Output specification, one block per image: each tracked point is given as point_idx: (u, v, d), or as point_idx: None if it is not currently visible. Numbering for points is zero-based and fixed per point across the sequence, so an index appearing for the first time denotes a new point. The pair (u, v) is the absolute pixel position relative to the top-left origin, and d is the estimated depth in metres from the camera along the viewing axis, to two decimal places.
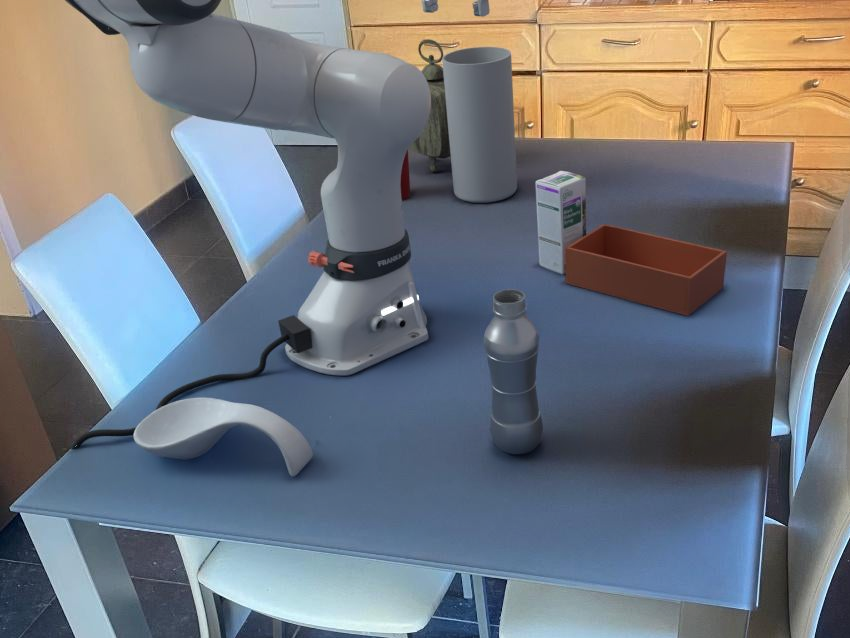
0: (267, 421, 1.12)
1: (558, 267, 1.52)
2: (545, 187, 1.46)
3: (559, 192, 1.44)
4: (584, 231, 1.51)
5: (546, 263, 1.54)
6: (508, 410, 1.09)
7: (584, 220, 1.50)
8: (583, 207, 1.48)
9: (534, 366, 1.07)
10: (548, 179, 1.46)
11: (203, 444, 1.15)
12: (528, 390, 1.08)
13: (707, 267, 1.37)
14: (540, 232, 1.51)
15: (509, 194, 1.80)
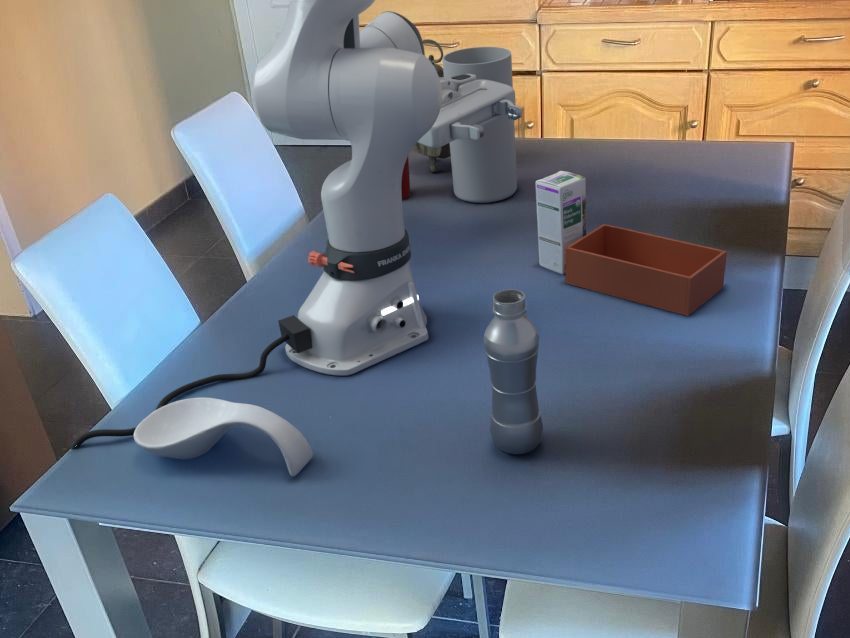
0: (267, 421, 1.12)
1: (558, 267, 1.52)
2: (545, 187, 1.46)
3: (559, 192, 1.44)
4: (584, 231, 1.51)
5: (546, 263, 1.54)
6: (508, 410, 1.09)
7: (584, 220, 1.50)
8: (583, 207, 1.48)
9: (534, 366, 1.07)
10: (548, 179, 1.46)
11: (203, 444, 1.15)
12: (528, 390, 1.08)
13: (707, 267, 1.37)
14: (540, 232, 1.51)
15: (509, 194, 1.80)
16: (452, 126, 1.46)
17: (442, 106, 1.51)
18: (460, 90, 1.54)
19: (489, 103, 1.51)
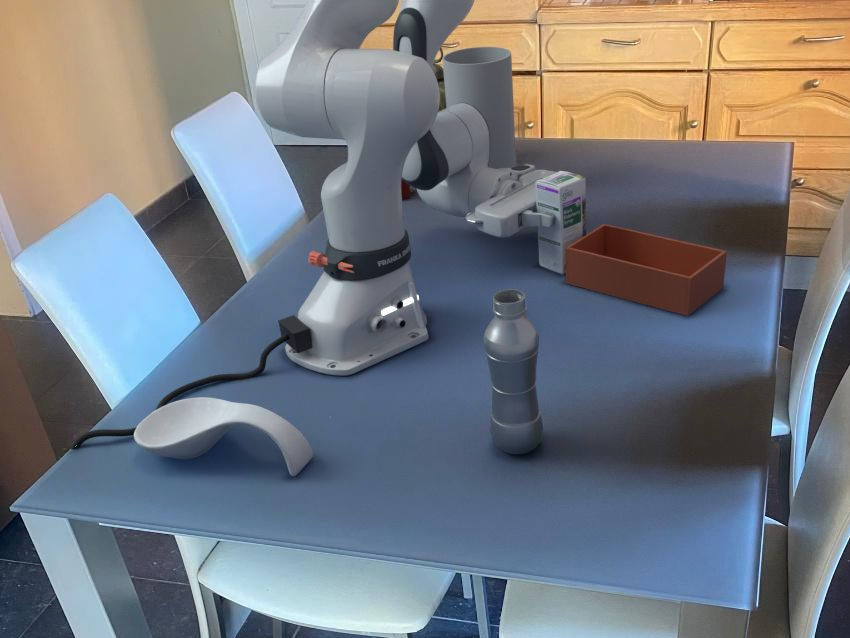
0: (267, 421, 1.12)
1: (558, 267, 1.52)
2: (545, 187, 1.46)
3: (559, 192, 1.44)
4: (584, 231, 1.51)
5: (546, 263, 1.54)
6: (508, 410, 1.09)
7: (584, 220, 1.50)
8: (583, 207, 1.48)
9: (534, 366, 1.07)
10: (548, 179, 1.46)
11: (204, 444, 1.15)
12: (528, 390, 1.08)
13: (707, 267, 1.37)
14: (540, 232, 1.51)
15: None
16: (524, 214, 1.48)
17: (506, 196, 1.52)
18: (521, 180, 1.55)
19: None
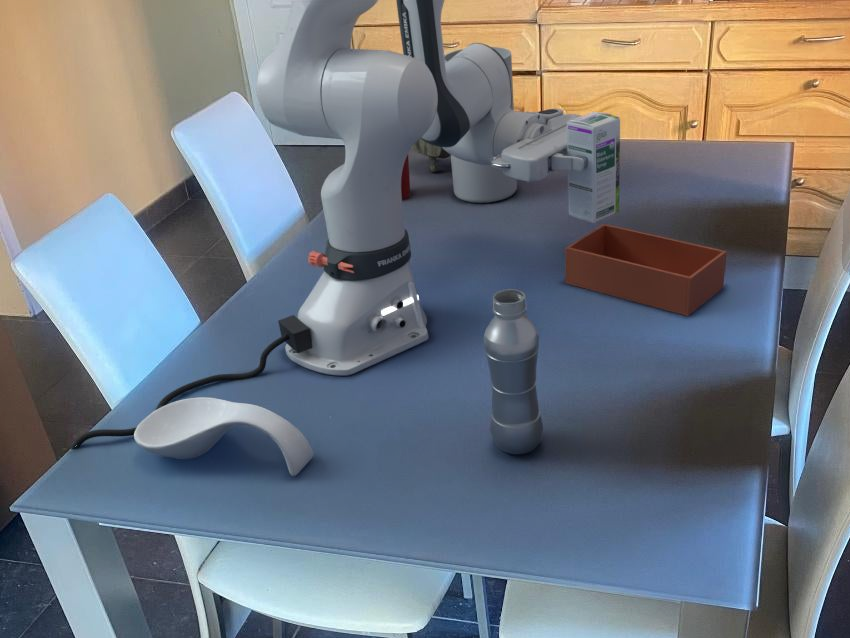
0: (267, 421, 1.12)
1: (589, 215, 1.43)
2: (577, 128, 1.36)
3: (592, 133, 1.35)
4: (617, 177, 1.42)
5: (576, 212, 1.44)
6: (508, 410, 1.09)
7: (617, 165, 1.40)
8: (617, 150, 1.39)
9: (534, 366, 1.07)
10: (580, 119, 1.37)
11: (204, 444, 1.15)
12: (528, 390, 1.08)
13: (707, 267, 1.37)
14: (570, 178, 1.42)
15: (509, 194, 1.80)
16: (554, 157, 1.38)
17: (534, 140, 1.43)
18: (549, 124, 1.46)
19: None
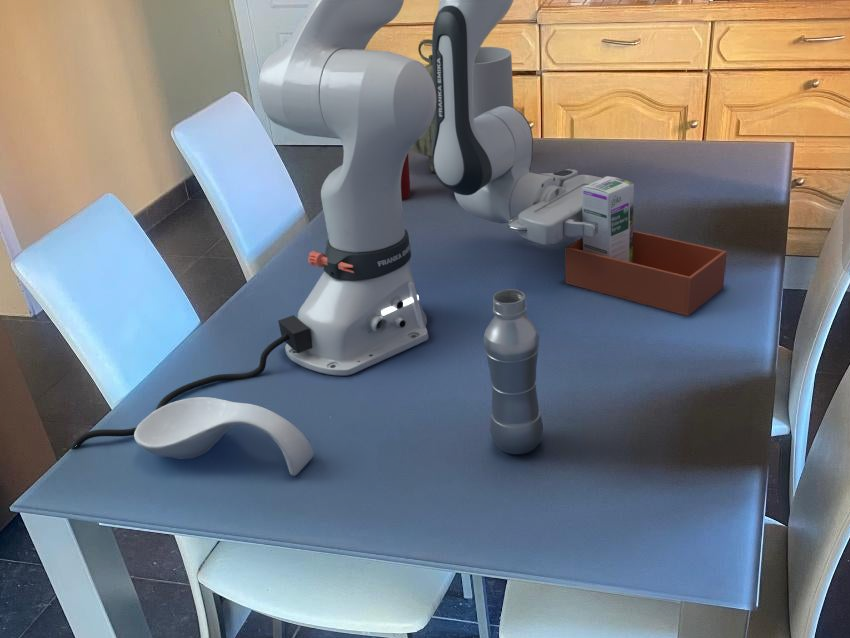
0: (268, 421, 1.12)
1: None
2: (593, 193, 1.41)
3: (607, 199, 1.39)
4: (631, 238, 1.46)
5: None
6: (508, 410, 1.09)
7: (631, 227, 1.45)
8: (630, 214, 1.43)
9: (534, 366, 1.07)
10: (595, 185, 1.41)
11: (204, 444, 1.15)
12: (528, 390, 1.08)
13: (707, 267, 1.37)
14: (585, 239, 1.46)
15: None
16: (566, 223, 1.42)
17: (550, 203, 1.47)
18: (564, 186, 1.50)
19: None
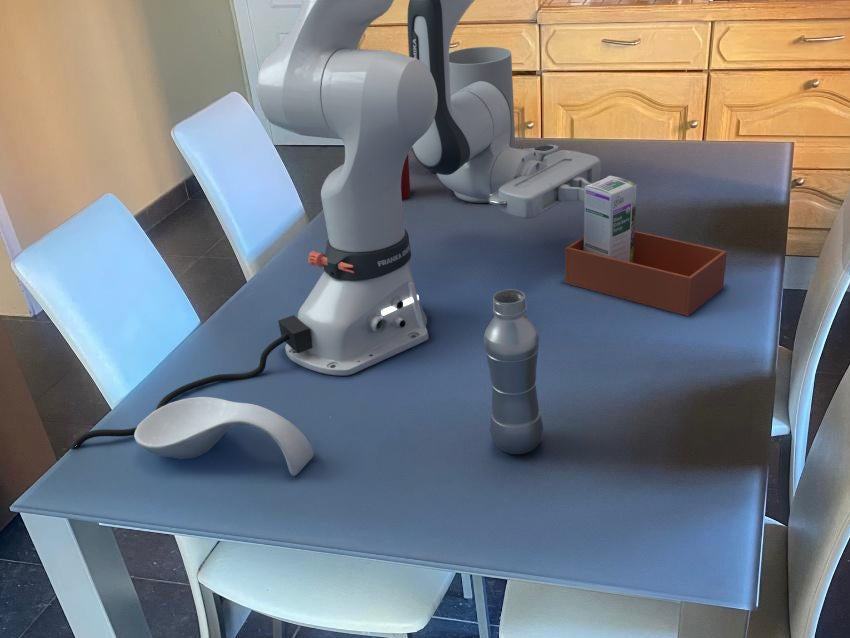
0: (268, 420, 1.12)
1: None
2: (595, 193, 1.40)
3: (610, 200, 1.39)
4: (632, 239, 1.46)
5: None
6: (508, 410, 1.09)
7: (633, 227, 1.45)
8: (632, 214, 1.43)
9: (534, 366, 1.07)
10: (598, 185, 1.41)
11: (204, 444, 1.15)
12: (528, 390, 1.08)
13: (707, 267, 1.37)
14: (586, 239, 1.46)
15: None
16: (561, 188, 1.44)
17: (530, 177, 1.47)
18: (545, 161, 1.50)
19: (578, 173, 1.47)
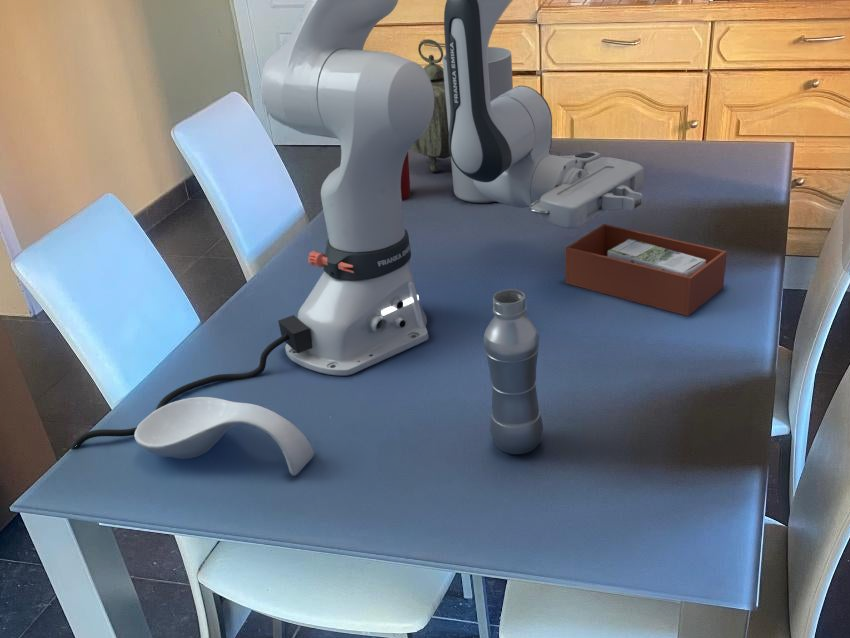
0: (268, 420, 1.12)
1: None
2: None
3: None
4: None
5: None
6: (508, 410, 1.09)
7: None
8: None
9: (534, 366, 1.07)
10: None
11: (204, 444, 1.15)
12: (528, 390, 1.08)
13: (707, 267, 1.37)
14: (637, 263, 1.41)
15: None
16: (604, 197, 1.40)
17: (572, 185, 1.43)
18: (587, 168, 1.46)
19: (621, 181, 1.43)
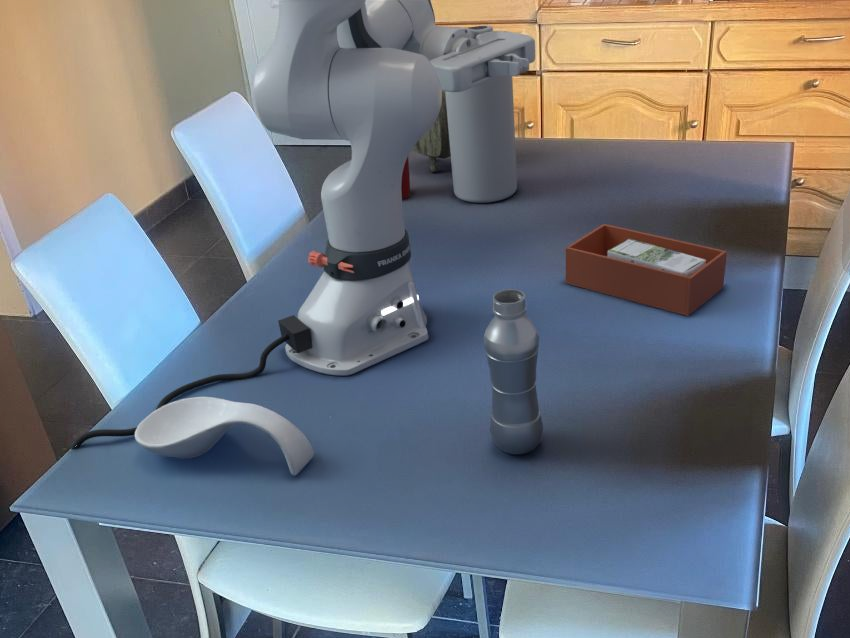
0: (268, 420, 1.12)
1: None
2: None
3: None
4: None
5: None
6: (508, 410, 1.09)
7: None
8: None
9: (534, 366, 1.07)
10: None
11: (204, 444, 1.15)
12: (528, 390, 1.08)
13: (707, 267, 1.37)
14: (637, 263, 1.41)
15: (509, 194, 1.80)
16: (490, 62, 1.40)
17: (460, 53, 1.43)
18: (477, 39, 1.46)
19: (510, 50, 1.43)
